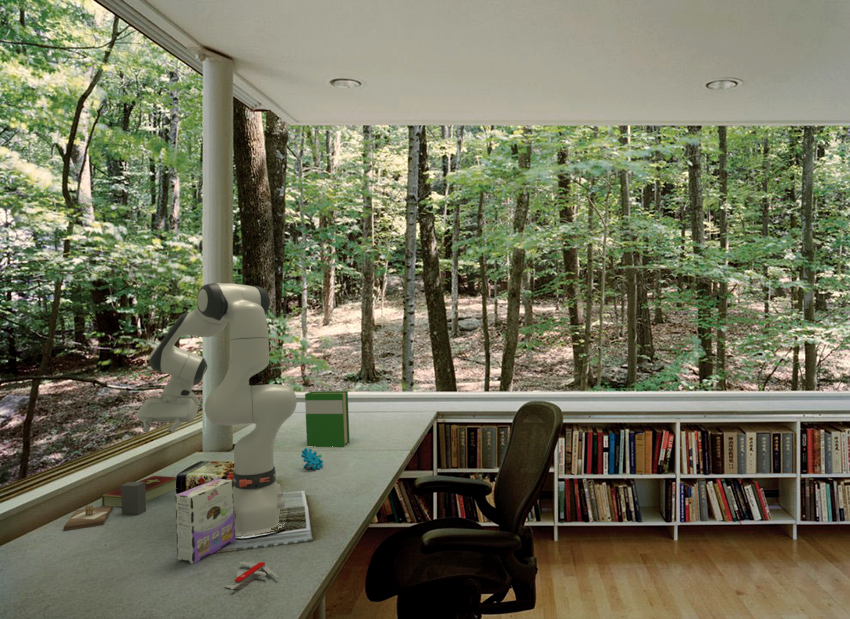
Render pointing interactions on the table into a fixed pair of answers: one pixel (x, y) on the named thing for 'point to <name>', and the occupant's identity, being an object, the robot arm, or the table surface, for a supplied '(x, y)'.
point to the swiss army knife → (250, 574)
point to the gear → (311, 459)
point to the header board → (88, 517)
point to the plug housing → (133, 498)
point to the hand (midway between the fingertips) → (157, 431)
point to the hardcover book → (152, 488)
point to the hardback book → (327, 418)
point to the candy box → (204, 520)
